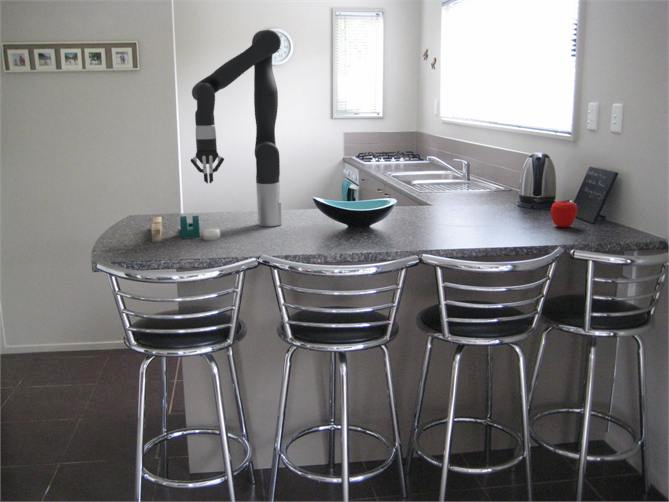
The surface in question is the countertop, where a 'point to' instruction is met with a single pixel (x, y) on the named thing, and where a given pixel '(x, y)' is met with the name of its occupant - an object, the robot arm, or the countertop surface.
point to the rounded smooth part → (211, 233)
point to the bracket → (189, 227)
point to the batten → (157, 229)
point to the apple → (563, 213)
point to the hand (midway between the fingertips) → (208, 182)
